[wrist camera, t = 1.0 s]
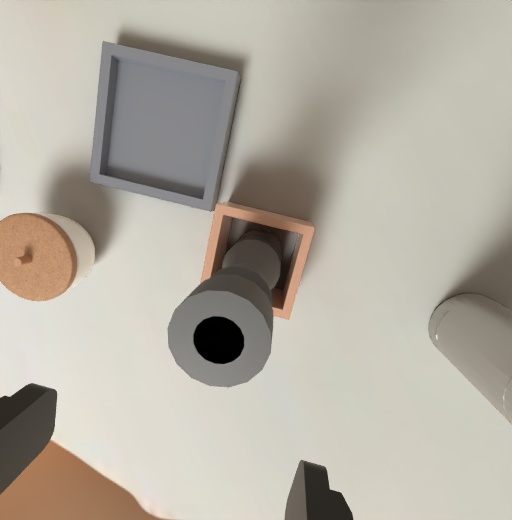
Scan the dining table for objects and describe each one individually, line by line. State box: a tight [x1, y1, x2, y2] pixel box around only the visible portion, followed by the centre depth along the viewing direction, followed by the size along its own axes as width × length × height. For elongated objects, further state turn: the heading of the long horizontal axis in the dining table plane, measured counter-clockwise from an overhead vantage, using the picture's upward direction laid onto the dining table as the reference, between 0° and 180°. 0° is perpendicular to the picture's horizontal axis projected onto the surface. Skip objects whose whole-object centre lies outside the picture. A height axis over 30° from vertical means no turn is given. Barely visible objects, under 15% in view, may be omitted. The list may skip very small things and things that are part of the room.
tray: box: [89, 41, 241, 211], centre depth 37 cm, size 16×16×2 cm
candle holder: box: [168, 229, 282, 387], centre depth 28 cm, size 6×6×25 cm
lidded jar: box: [0, 213, 95, 301], centre depth 38 cm, size 11×11×9 cm
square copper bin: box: [200, 202, 315, 320], centre depth 37 cm, size 11×11×7 cm
